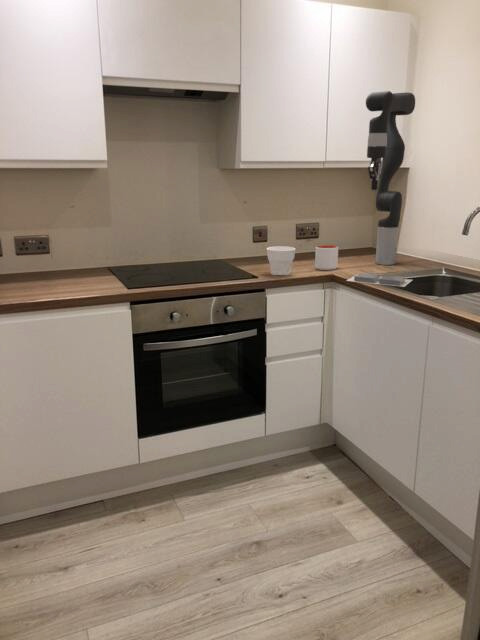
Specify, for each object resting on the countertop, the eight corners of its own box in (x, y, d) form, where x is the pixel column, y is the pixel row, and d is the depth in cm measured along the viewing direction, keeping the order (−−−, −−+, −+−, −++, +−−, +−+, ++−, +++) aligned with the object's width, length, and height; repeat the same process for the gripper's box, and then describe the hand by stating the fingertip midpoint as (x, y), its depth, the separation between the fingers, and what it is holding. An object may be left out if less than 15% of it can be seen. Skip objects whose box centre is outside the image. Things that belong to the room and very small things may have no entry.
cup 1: (292, 277, 215) (293, 251, 212) (263, 276, 218) (263, 250, 215) (297, 271, 227) (297, 246, 224) (269, 270, 230) (269, 245, 226)
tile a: (360, 272, 211) (354, 276, 205) (379, 274, 208) (374, 278, 201) (360, 277, 212) (354, 280, 205) (379, 279, 208) (373, 282, 201)
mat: (357, 275, 218) (357, 274, 217) (412, 280, 206) (412, 279, 206) (345, 281, 206) (345, 280, 206) (404, 287, 195) (404, 286, 195)
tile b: (384, 275, 207) (379, 278, 200) (405, 277, 203) (400, 281, 196) (384, 279, 207) (378, 283, 200) (404, 281, 203) (399, 285, 197)
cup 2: (313, 270, 229) (314, 248, 226) (316, 266, 238) (317, 244, 236) (336, 271, 227) (337, 248, 224) (338, 267, 236) (339, 245, 233)
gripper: (372, 146, 214) (370, 189, 219) (362, 145, 203) (360, 190, 208) (390, 145, 211) (387, 189, 216) (381, 144, 200) (378, 190, 205)
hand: (374, 189), depth 212 cm, fingers closed
